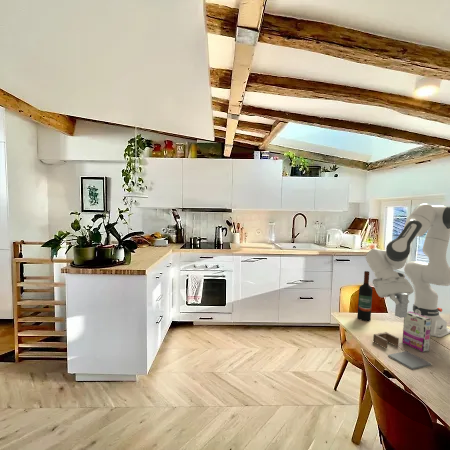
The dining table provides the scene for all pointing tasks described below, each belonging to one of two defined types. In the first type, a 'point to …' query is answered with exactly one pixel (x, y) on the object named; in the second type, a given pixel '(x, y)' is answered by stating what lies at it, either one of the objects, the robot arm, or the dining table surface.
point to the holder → (385, 339)
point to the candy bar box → (417, 331)
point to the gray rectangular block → (401, 305)
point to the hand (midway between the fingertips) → (403, 303)
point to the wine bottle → (365, 299)
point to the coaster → (409, 360)
